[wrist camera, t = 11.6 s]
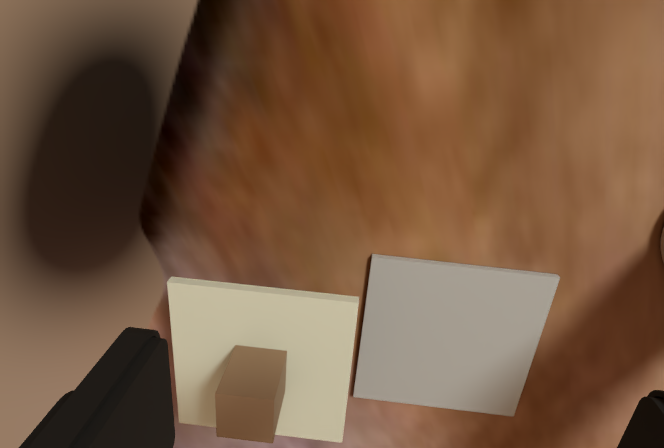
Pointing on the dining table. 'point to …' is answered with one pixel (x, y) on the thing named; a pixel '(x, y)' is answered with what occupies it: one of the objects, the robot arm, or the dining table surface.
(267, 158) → the dining table surface
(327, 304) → the lid
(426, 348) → the mat
